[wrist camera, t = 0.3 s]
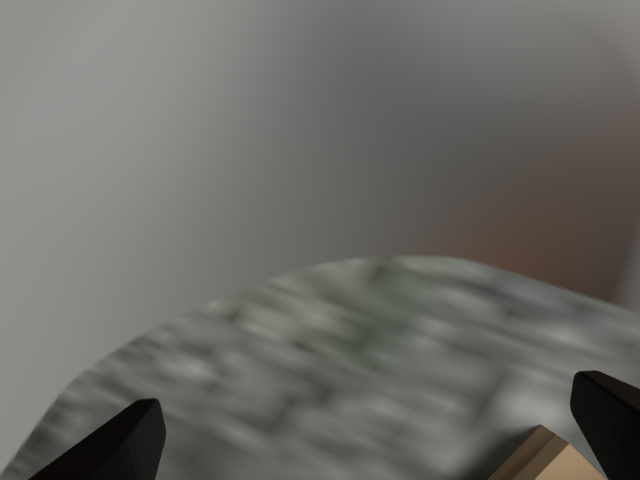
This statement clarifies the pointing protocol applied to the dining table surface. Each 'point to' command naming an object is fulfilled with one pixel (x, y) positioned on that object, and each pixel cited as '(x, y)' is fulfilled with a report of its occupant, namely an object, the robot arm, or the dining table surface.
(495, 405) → the dining table surface
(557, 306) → the dining table surface
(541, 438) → the walnut pallet
